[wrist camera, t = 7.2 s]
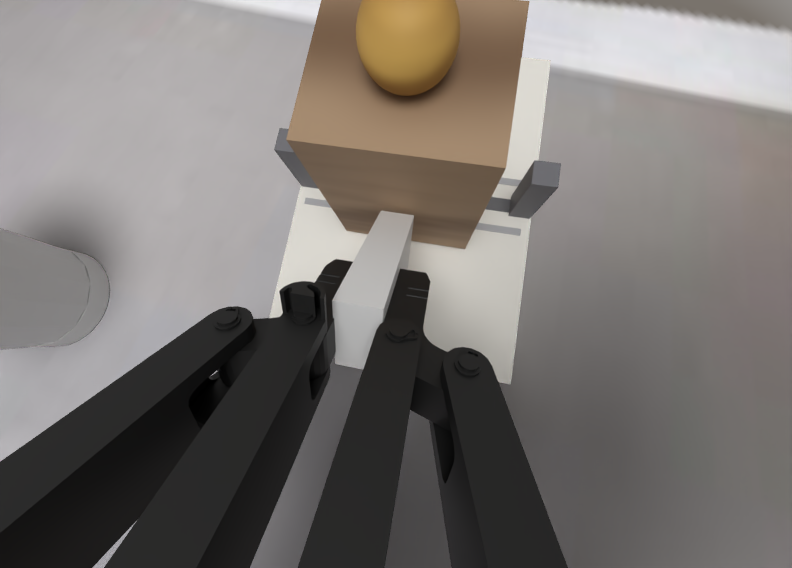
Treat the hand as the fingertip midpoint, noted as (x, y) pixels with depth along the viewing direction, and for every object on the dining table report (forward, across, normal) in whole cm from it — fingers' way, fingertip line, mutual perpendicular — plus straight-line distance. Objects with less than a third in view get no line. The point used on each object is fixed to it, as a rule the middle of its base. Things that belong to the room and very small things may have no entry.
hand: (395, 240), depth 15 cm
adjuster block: (+6, 0, 0) cm, 6 cm away
